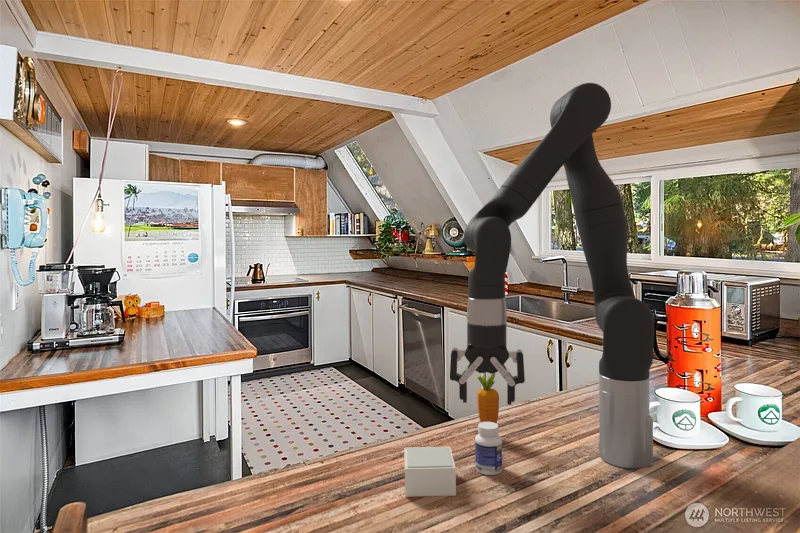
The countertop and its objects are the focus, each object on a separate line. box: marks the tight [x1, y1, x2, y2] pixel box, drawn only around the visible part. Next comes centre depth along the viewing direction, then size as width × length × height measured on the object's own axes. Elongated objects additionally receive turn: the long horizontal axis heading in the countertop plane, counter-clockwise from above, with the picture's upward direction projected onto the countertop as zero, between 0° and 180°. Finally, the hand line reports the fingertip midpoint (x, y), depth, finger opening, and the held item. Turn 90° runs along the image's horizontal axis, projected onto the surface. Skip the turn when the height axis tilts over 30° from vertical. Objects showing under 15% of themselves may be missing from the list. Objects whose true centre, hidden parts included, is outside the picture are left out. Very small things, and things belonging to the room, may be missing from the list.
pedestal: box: [403, 446, 457, 498], centre depth 90 cm, size 9×9×5 cm
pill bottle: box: [474, 422, 503, 476], centre depth 95 cm, size 5×5×9 cm
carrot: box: [476, 373, 500, 424], centre depth 110 cm, size 5×5×15 cm
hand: (486, 402), depth 95 cm, fingers open, 8 cm apart
